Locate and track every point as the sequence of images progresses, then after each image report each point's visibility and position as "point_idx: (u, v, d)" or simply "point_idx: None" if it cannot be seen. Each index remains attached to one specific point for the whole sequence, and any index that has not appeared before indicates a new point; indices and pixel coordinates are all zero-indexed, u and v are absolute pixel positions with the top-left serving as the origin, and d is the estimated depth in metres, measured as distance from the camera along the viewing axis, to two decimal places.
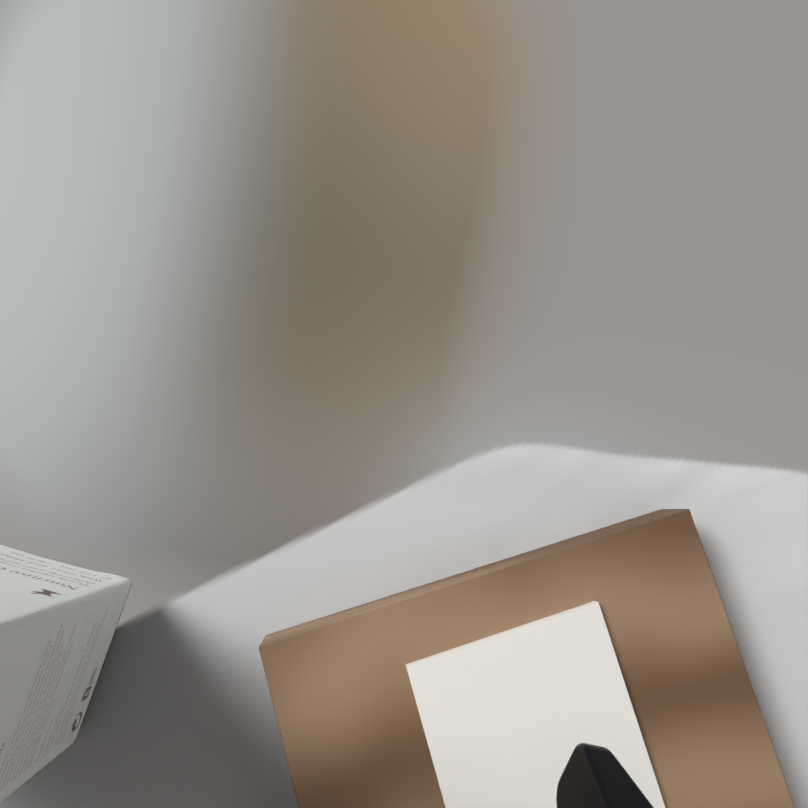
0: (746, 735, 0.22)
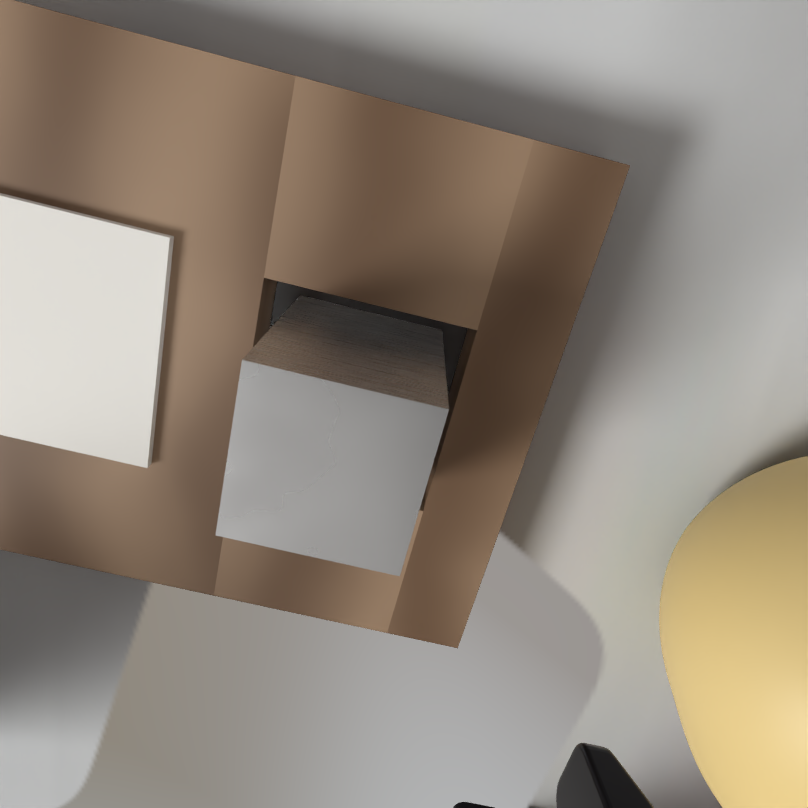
0: (143, 72, 0.15)
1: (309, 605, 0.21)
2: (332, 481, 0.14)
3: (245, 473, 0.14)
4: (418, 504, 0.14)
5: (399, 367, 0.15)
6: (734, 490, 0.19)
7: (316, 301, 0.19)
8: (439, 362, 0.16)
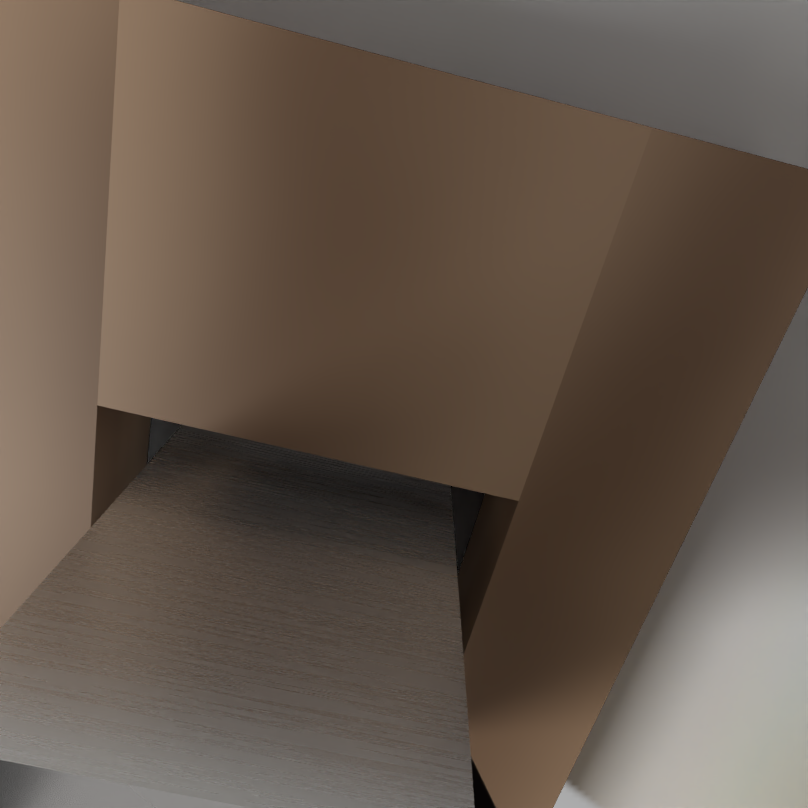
0: None
1: None
2: None
3: None
4: None
5: (356, 641, 0.07)
6: None
7: None
8: (446, 590, 0.08)
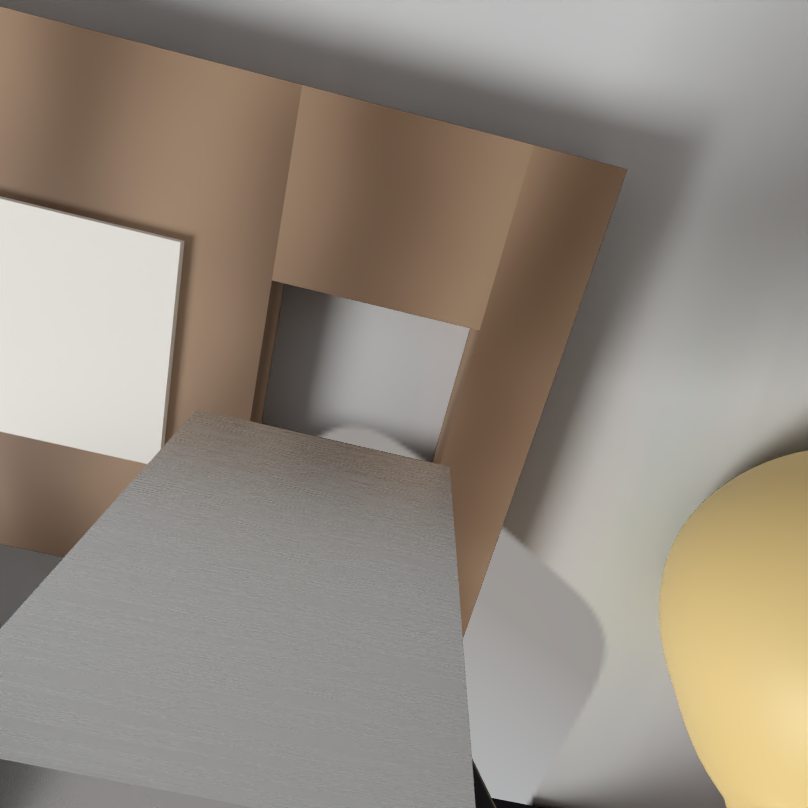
0: (154, 82, 0.16)
1: None
2: None
3: None
4: None
5: (356, 640, 0.07)
6: (731, 484, 0.19)
7: (223, 423, 0.10)
8: (447, 589, 0.08)
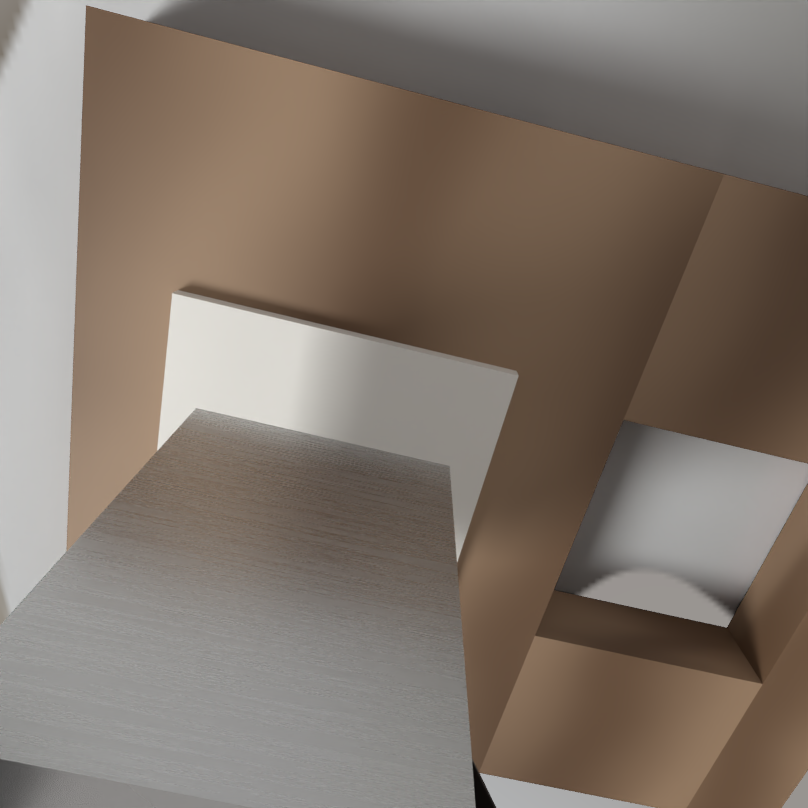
0: (518, 169, 0.11)
1: (595, 783, 0.17)
2: None
3: None
4: None
5: (356, 639, 0.07)
6: None
7: (222, 422, 0.10)
8: (447, 589, 0.08)
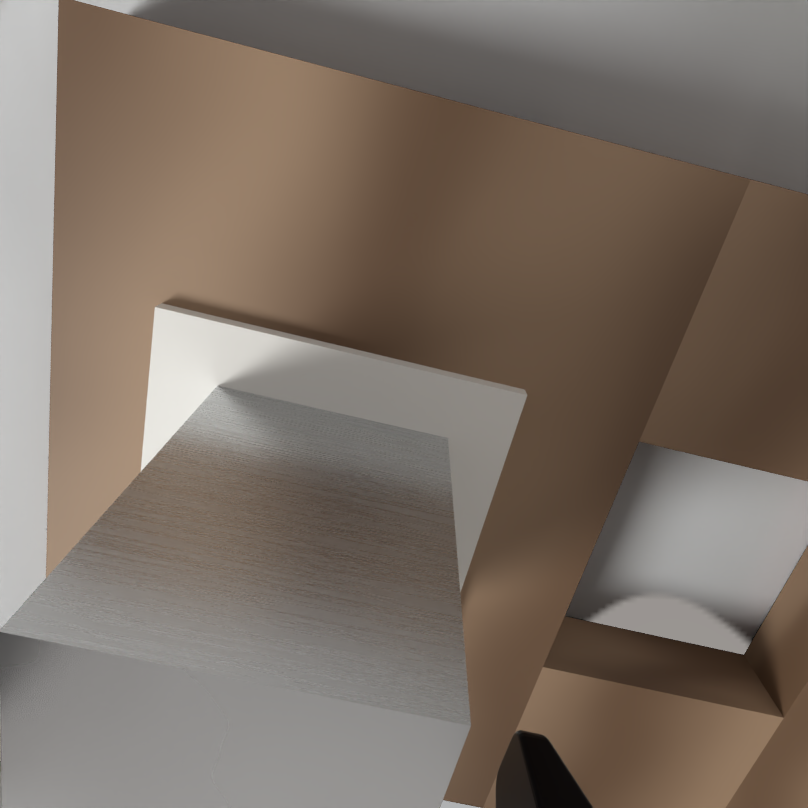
0: (527, 174, 0.10)
1: None
2: None
3: None
4: None
5: (367, 571, 0.08)
6: None
7: (241, 398, 0.11)
8: (445, 536, 0.09)
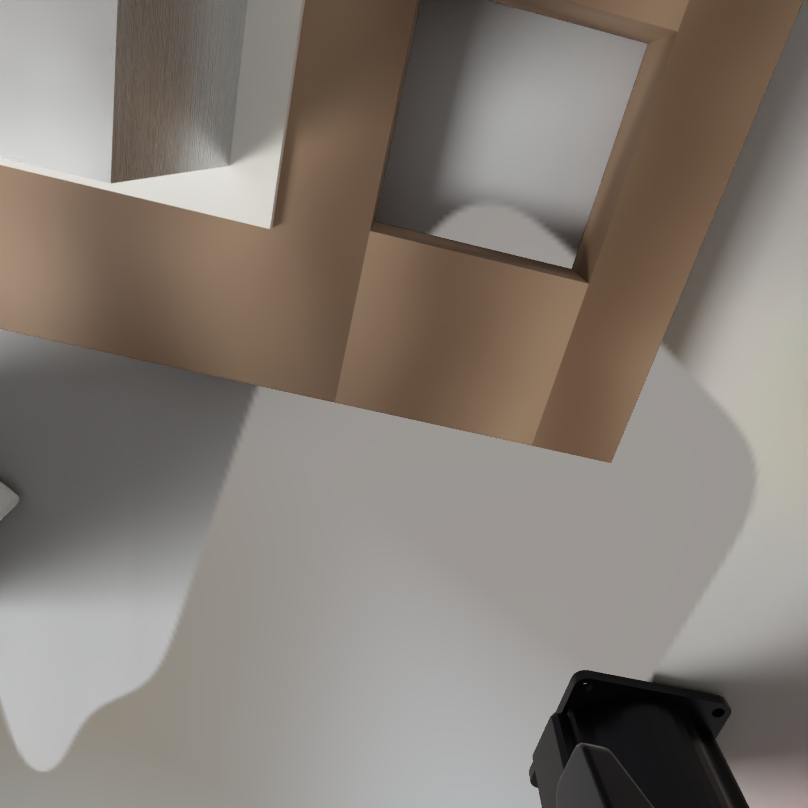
0: None
1: (445, 411, 0.18)
2: None
3: None
4: (112, 28, 0.09)
5: None
6: None
7: None
8: None
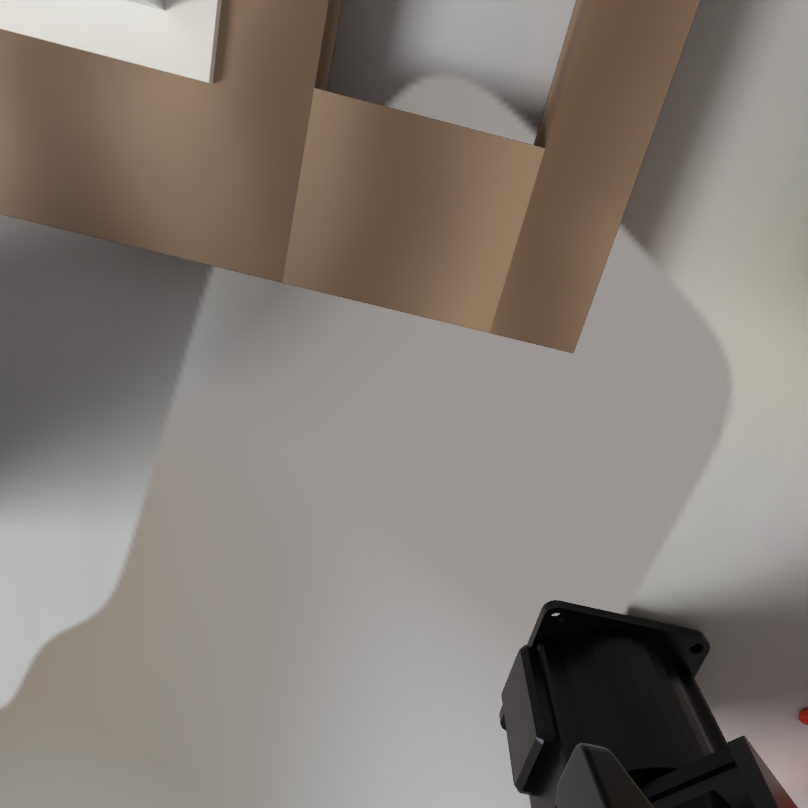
0: None
1: (397, 294, 0.17)
2: None
3: None
4: None
5: None
6: None
7: None
8: None
